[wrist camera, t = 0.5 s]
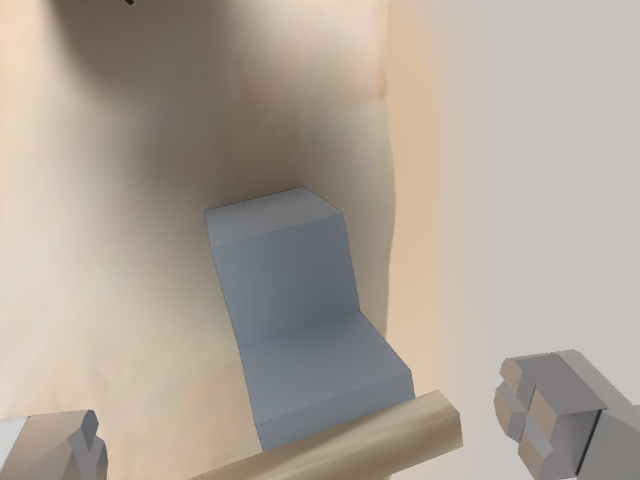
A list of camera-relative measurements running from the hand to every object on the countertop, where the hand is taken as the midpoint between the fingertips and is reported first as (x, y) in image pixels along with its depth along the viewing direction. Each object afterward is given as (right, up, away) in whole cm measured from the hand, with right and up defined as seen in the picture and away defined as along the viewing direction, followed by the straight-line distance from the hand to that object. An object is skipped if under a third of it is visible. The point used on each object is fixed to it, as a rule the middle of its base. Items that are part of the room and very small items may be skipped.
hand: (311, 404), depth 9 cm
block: (-1, -13, +25) cm, 28 cm away
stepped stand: (-6, 0, +48) cm, 49 cm away
